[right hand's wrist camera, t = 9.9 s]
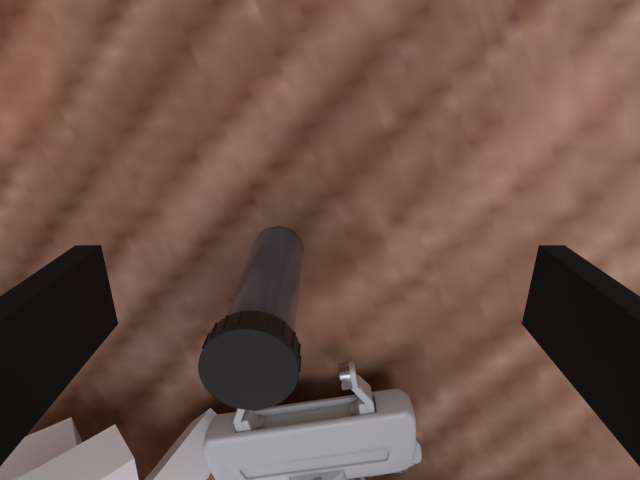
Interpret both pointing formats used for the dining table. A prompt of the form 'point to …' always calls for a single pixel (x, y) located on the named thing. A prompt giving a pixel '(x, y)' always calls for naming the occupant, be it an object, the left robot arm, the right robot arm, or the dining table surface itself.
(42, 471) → the pile of blocks
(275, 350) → the lid
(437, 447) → the dining table surface
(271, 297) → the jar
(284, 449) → the left robot arm
